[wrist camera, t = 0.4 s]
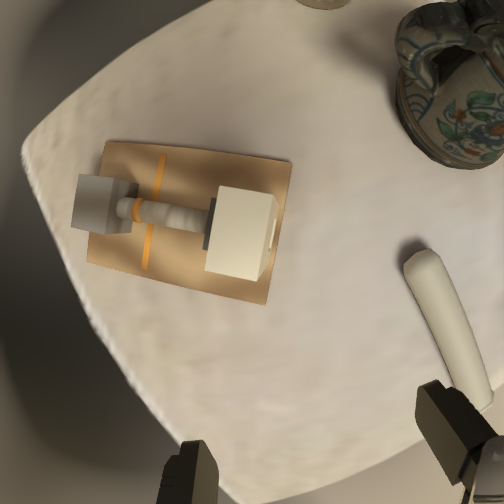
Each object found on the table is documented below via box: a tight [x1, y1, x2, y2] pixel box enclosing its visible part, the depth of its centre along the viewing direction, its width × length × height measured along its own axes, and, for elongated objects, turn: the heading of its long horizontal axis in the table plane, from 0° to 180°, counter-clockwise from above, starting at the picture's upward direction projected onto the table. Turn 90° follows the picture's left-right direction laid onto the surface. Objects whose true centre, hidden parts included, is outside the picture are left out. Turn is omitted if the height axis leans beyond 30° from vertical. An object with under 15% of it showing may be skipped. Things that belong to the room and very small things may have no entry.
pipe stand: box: [71, 142, 292, 305], centre depth 33 cm, size 16×24×7 cm, turn 79°
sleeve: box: [205, 186, 280, 282], centre depth 29 cm, size 6×4×11 cm, turn 169°
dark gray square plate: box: [202, 197, 217, 251], centre depth 32 cm, size 5×1×5 cm, turn 169°
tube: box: [403, 249, 494, 414], centre depth 32 cm, size 5×5×25 cm
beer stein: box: [395, 0, 504, 170], centre depth 19 cm, size 16×19×25 cm
